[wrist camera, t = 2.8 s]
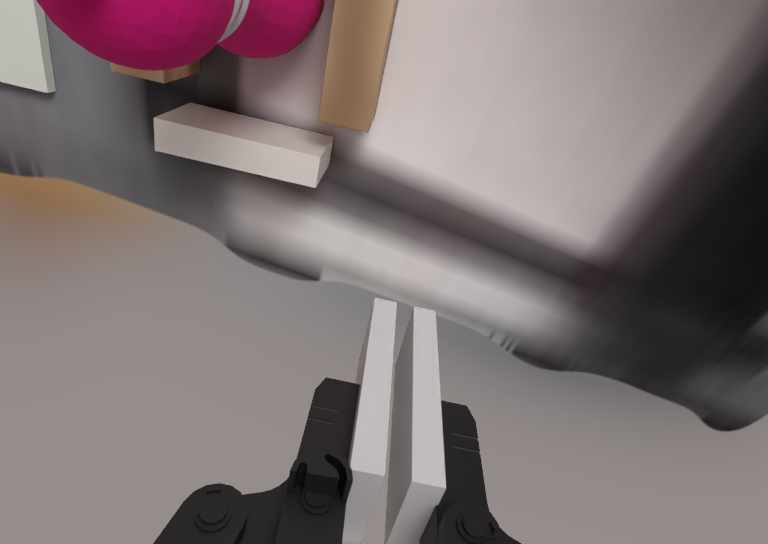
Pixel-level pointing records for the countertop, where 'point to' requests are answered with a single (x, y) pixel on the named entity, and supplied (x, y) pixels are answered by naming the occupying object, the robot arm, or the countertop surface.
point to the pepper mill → (182, 28)
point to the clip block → (334, 63)
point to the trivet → (25, 46)
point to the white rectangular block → (243, 143)
